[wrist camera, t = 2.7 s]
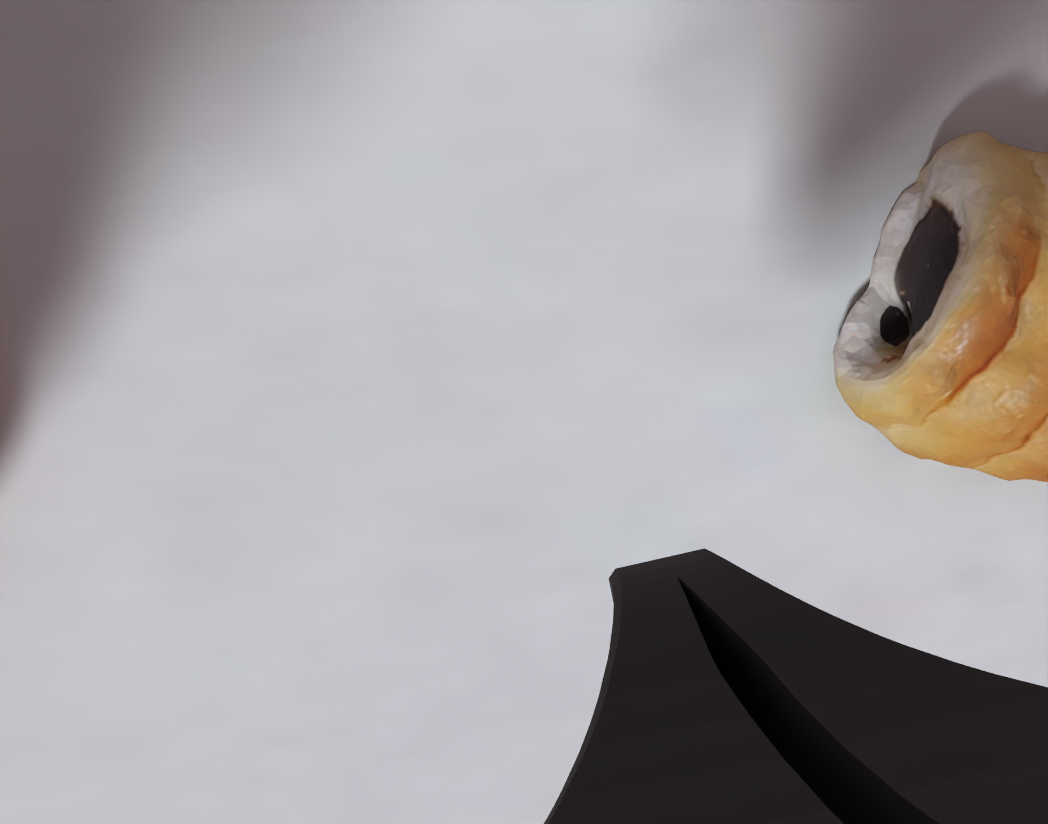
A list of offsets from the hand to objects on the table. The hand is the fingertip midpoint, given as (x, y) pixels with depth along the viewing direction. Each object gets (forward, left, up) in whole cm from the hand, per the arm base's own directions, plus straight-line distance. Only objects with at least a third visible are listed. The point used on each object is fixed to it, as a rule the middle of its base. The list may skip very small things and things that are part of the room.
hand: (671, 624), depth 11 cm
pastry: (+1, -10, -8) cm, 13 cm away
